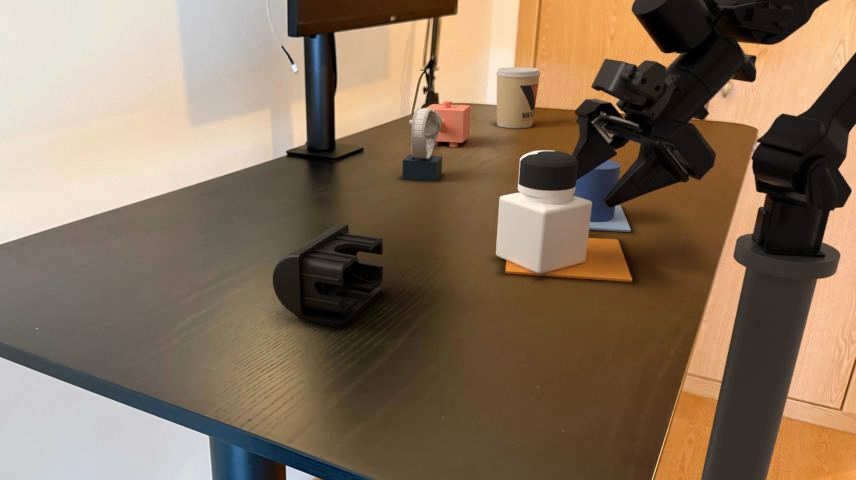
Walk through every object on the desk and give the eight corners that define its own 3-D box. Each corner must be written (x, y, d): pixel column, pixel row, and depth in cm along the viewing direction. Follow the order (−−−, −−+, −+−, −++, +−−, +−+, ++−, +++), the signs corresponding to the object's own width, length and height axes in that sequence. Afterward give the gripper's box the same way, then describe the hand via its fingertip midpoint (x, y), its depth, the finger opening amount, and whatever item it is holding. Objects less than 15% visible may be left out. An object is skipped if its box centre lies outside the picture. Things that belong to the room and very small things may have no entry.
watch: (443, 172, 119) (446, 105, 115) (433, 184, 112) (435, 113, 108) (411, 170, 121) (412, 104, 116) (399, 181, 114) (400, 112, 109)
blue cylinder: (611, 210, 97) (618, 159, 94) (616, 223, 92) (623, 169, 89) (565, 207, 98) (571, 157, 96) (568, 220, 93) (573, 168, 90)
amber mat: (617, 241, 86) (618, 239, 86) (632, 282, 74) (632, 279, 74) (508, 235, 89) (508, 233, 88) (505, 273, 77) (505, 270, 77)
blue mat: (620, 207, 99) (620, 205, 99) (630, 232, 89) (631, 230, 89) (539, 203, 101) (539, 201, 101) (540, 227, 91) (540, 225, 91)
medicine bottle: (586, 263, 79) (599, 155, 74) (538, 276, 75) (549, 164, 71) (540, 244, 84) (549, 144, 80) (494, 256, 81) (501, 151, 76)
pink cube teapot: (418, 149, 136) (419, 105, 133) (433, 137, 147) (434, 96, 144) (458, 151, 134) (460, 106, 131) (470, 139, 144) (472, 97, 141)
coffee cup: (526, 130, 153) (531, 72, 148) (486, 126, 157) (489, 70, 153) (541, 123, 160) (546, 68, 155) (502, 120, 164) (506, 66, 160)
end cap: (323, 280, 75) (321, 220, 73) (384, 291, 73) (385, 228, 70) (273, 317, 67) (269, 250, 65) (340, 331, 64) (338, 262, 62)
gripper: (598, 25, 81) (502, 129, 83) (710, 35, 64) (586, 164, 66) (650, 93, 85) (558, 189, 87) (766, 118, 69) (649, 237, 71)
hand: (583, 193), depth 78 cm, fingers open, 9 cm apart
